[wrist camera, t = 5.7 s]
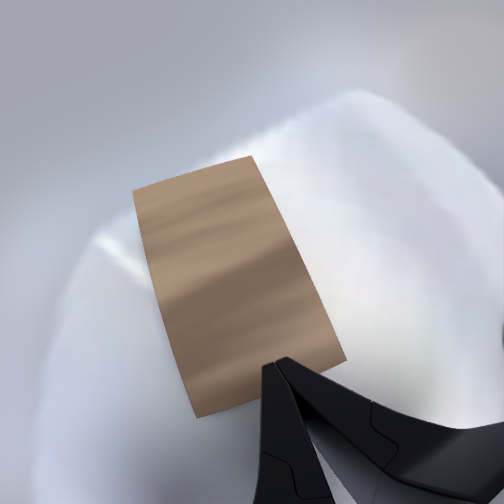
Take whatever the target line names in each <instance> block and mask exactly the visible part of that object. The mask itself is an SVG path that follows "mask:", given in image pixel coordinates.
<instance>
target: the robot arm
mask: <svg viewBox="0 0 504 504" xmlns="http://www.w3.org/2000/svg"><path fill="white" fill-rule="evenodd" d="M311 440H312V441H311ZM312 442H313V443H314V444H315V446H316V447H317V449H318V450H319V452H320V453H321V454H322V456H323V457H324V459H325V460H326V462H327V463H328V464H329V466H330V467H331V469H332V470H333V471H334V473H335V474H336V476H337V477H338V478H339V480H340V481H341V482H342V484H343V485H344V487H345V488H346V489H347V491H348V492H349V493H350V495H351V496H352V497H353V499H354V500H355V501H356V503H357V504H504V422H500V423H495V424H491V425H486V426H481V427H476V428H470V429H456V428H449V427H445V426H442V425H438V424H434V423H431V422H427V421H424V420H420V419H417V418H414V417H411V416H408V415H405V414H402V413H399V412H396V411H394V410H392V409H389V408H387V407H385V406H382V405H380V404H378V403H376V402H374V401H372V402H371V400H370V399H368V398H366V397H364V396H362V395H360V394H358V393H356V392H354V391H352V390H350V389H348V388H346V387H344V386H342V385H340V384H338V383H336V382H334V381H332V380H330V379H328V378H326V377H325V376H323V375H321V374H319V373H317V372H315V371H313V370H311V369H310V368H308V367H306V366H304V365H302V364H300V363H299V362H297V361H295V360H293V359H291V358H290V357H287V356H286V357H283V358H280V359H278V360H276V361H275V362H270V363H267V364H265V365H263V366H262V369H261V411H260V447H259V451H260V452H259V467H258V479H257V485H256V491H255V496H254V501H253V504H336V503H335V501H334V498H333V496H332V493H331V490H330V488H329V485H328V483H327V480H326V478H325V475H324V472H323V470H322V467H321V465H320V462H319V460H318V457H317V454H316V452H315V449H314V447H313V444H312Z"/></svg>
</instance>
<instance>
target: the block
mask: <svg viewBox="0 0 504 504" xmlns="http://www.w3.org/2000/svg"><path fill="white" fill-rule="evenodd" d="M132 193H133V198H134V203H135V208H136V213H137V218H138V223H139V228H140V232H141V237H142V241H143V246H144V250H145V254H146V259H147V263H148V267H149V271H150V275H151V279H152V282H153V286H154V290H155V294H156V297H157V301H158V304H159V308H160V312H161V315H162V318H163V322H164V325H165V328H166V332H167V335H168V338H169V341H170V345H171V348H172V351H173V354H174V357H175V360H176V363H177V366H178V369H179V372H180V375H181V378H182V380H183V383H184V386H185V389H186V392H187V394H188V397H189V400H190V402H191V405H192V408H193V410H194V413H195V415H196V418H200V417H203V416H207V415H210V414H213V413H216V412H220V411H223V410H226V409H229V408H232V407H235V406H238V405H241V404H244V403H246V402H249V401H252V400H255V399H258V398H260V397H261V369H262V366H263V365H265V364H267V363H270V362H275V361H276V360H278V359H280V358H283V357H286V356H287V357H290V358H291V359H293V360H295V361H297V362H299V363H300V364H302V365H304V366H306V367H308V368H310V369H311V370H313V371H315V372H317V373H321V372H323V371H326V370H328V369H330V368H332V367H334V366H336V365H339V364H341V363H343V362H345V361H347V359H346V357H345V354H344V352H343V350H342V347H341V345H340V343H339V340H338V338H337V336H336V333H335V331H334V329H333V326H332V324H331V322H330V320H329V317H328V315H327V313H326V311H325V308H324V306H323V304H322V302H321V299H320V297H319V295H318V293H317V290H316V288H315V286H314V284H313V282H312V279H311V277H310V275H309V273H308V271H307V269H306V266H305V264H304V262H303V260H302V258H301V256H300V253H299V251H298V249H297V247H296V245H295V243H294V241H293V239H292V237H291V234H290V232H289V230H288V228H287V226H286V224H285V222H284V220H283V218H282V216H281V214H280V212H279V210H278V208H277V205H276V203H275V201H274V199H273V197H272V195H271V193H270V191H269V189H268V187H267V185H266V183H265V181H264V179H263V177H262V175H261V173H260V171H259V169H258V167H257V165H256V163H255V161H254V160H253V158H252V156H247V157H243V158H240V159H236V160H232V161H228V162H225V163H221V164H217V165H214V166H210V167H207V168H203V169H200V170H196V171H193V172H190V173H186V174H183V175H180V176H177V177H173V178H170V179H167V180H164V181H161V182H158V183H155V184H152V185H149V186H146V187H143V188H140V189H137V190H134V191H133V192H132Z"/></svg>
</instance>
